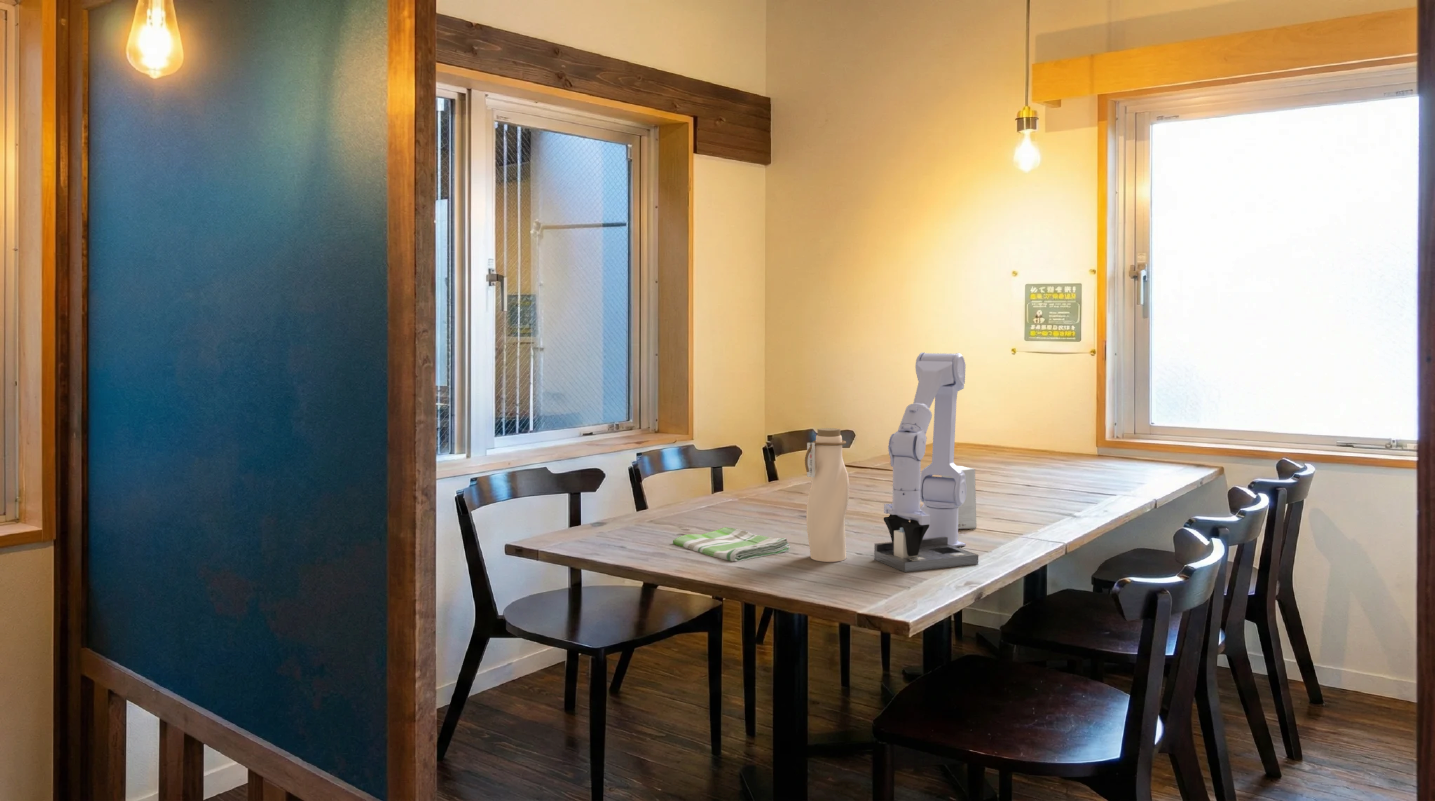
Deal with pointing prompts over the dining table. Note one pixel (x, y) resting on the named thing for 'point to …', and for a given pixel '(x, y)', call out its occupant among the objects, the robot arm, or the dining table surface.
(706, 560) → the dining table surface
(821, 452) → the water bottle
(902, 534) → the plug
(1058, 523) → the dining table surface
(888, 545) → the port panel
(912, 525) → the robot arm
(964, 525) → the skincare box
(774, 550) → the dish towel
